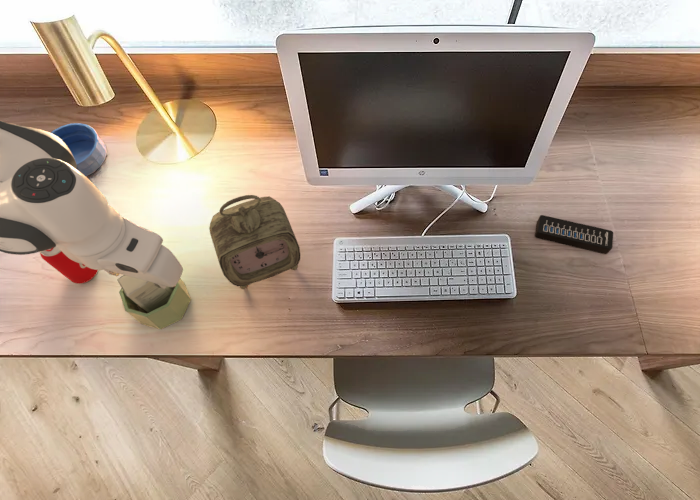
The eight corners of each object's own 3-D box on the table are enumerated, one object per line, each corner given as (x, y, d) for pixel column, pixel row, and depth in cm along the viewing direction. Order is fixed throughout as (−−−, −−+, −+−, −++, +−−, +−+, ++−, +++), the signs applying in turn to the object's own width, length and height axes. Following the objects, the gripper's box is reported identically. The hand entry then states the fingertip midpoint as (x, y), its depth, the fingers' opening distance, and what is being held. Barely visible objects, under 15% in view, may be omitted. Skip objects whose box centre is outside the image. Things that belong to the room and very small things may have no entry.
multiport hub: (537, 220, 104) (540, 214, 102) (608, 236, 101) (613, 230, 99) (534, 237, 102) (537, 231, 100) (607, 254, 99) (612, 249, 97)
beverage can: (105, 261, 103) (75, 233, 92) (90, 288, 100) (57, 261, 90) (79, 255, 104) (46, 225, 93) (64, 281, 101) (28, 253, 91)
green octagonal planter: (127, 320, 97) (110, 306, 90) (151, 273, 101) (137, 258, 95) (175, 333, 95) (161, 321, 89) (197, 286, 99) (186, 270, 93)
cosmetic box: (171, 285, 100) (147, 257, 89) (182, 300, 98) (159, 274, 87) (143, 304, 98) (115, 278, 87) (154, 320, 96) (126, 296, 85)
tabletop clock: (237, 297, 98) (199, 234, 76) (226, 260, 102) (186, 190, 80) (306, 272, 100) (287, 203, 78) (291, 236, 104) (270, 162, 82)
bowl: (40, 175, 115) (27, 161, 110) (70, 132, 120) (59, 118, 116) (89, 186, 112) (78, 173, 108) (117, 143, 118) (108, 129, 114)
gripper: (33, 242, 76) (80, 279, 88) (150, 273, 73) (183, 307, 85) (55, 208, 79) (98, 249, 91) (169, 237, 75) (198, 275, 88)
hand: (139, 277), depth 88 cm, fingers open, 8 cm apart
